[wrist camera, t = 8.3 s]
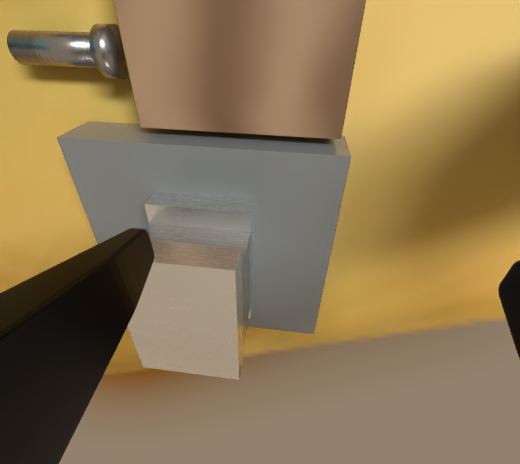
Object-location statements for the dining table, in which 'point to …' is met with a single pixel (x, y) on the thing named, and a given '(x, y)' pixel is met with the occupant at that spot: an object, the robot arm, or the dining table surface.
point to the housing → (196, 284)
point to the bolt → (72, 49)
